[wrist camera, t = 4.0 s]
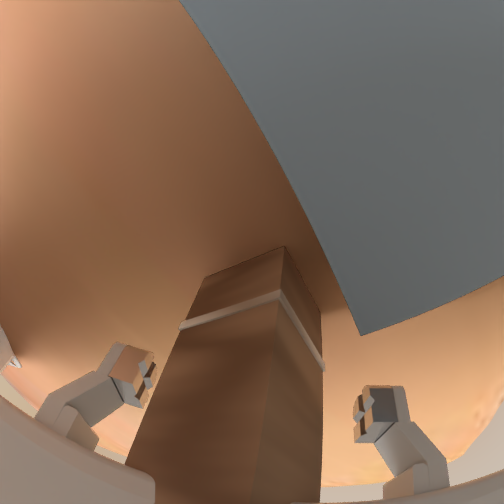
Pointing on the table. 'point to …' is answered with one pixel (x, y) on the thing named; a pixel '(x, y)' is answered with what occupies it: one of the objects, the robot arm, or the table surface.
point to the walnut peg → (240, 394)
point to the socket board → (380, 136)
